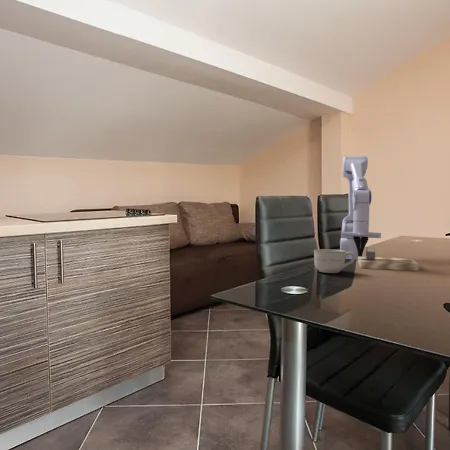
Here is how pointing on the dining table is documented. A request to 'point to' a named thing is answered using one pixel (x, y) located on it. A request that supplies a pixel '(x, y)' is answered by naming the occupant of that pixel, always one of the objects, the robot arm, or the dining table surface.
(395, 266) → the console
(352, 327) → the dining table surface
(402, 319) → the dining table surface
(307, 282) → the dining table surface
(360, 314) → the dining table surface
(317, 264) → the teacup
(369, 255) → the fader
